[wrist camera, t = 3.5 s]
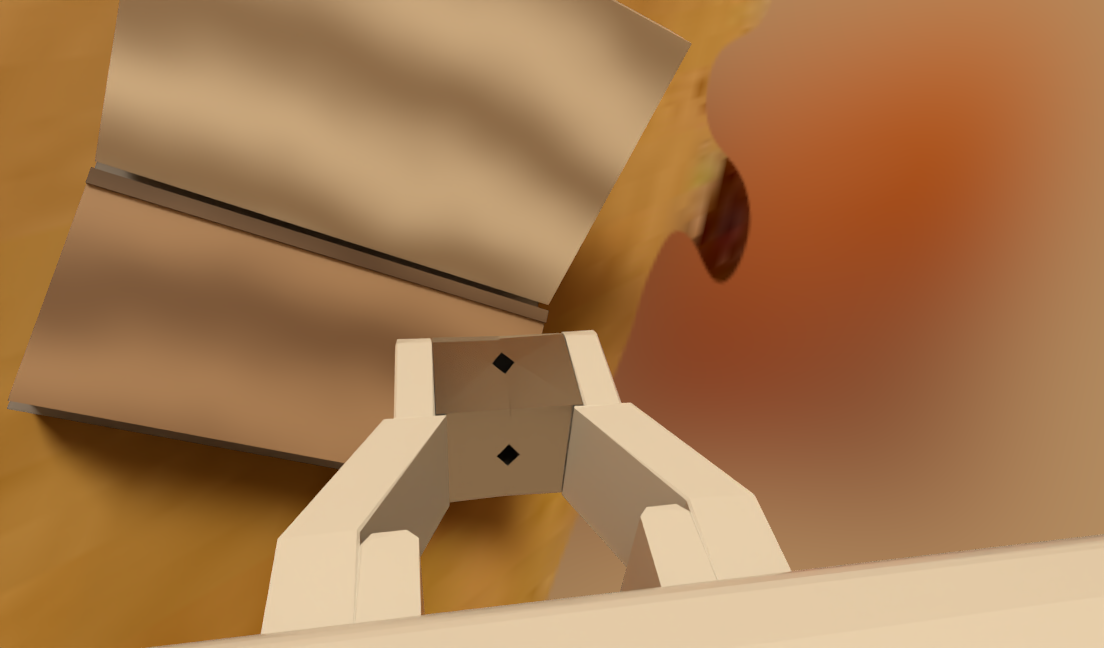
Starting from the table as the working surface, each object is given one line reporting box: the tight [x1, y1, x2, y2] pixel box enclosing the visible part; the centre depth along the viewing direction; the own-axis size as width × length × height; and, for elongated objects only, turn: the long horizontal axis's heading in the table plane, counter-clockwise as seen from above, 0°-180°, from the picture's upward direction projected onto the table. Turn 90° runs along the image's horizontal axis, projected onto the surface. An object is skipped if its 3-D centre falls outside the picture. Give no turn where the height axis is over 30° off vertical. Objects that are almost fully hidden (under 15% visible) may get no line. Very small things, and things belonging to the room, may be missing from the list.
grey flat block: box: [7, 162, 549, 469], centre depth 31 cm, size 23×20×6 cm
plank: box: [95, 0, 691, 305], centre depth 27 cm, size 13×19×2 cm
